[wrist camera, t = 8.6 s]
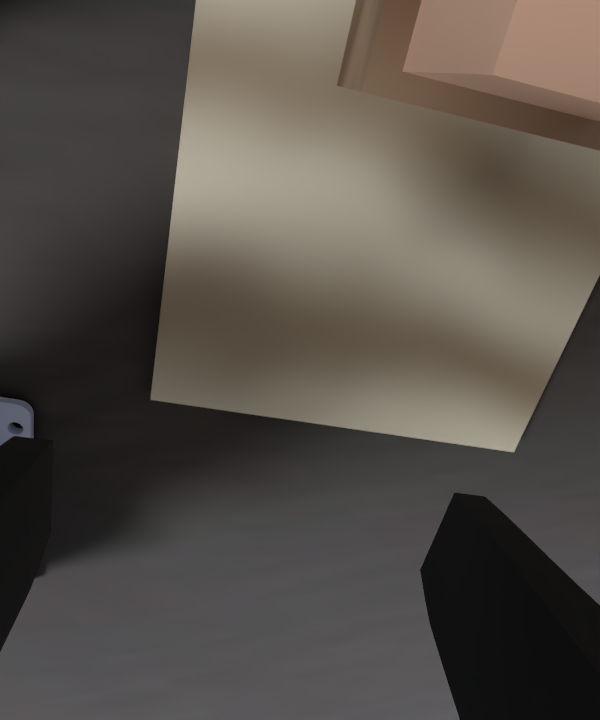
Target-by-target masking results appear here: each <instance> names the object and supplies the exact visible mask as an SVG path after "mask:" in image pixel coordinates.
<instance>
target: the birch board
mask: <svg viewBox="0 0 600 720" xmlns="http://www.w3.org/2000/svg"><path fill="white" fill-rule="evenodd" d="M355 3H356V0H196V6H195V14H194V23H193V32H192V41H191V49H190V58H189V67H188V75H187V84H186V93H185V102H184V110H183V119H182V128H181V136H180V145H179V154H178V163H177V171H176V180H175V189H174V197H173V206H172V215H171V224H170V232H169V241H168V250H167V258H166V267H165V276H164V285H163V293H162V302H161V311H160V319H159V328H158V337H157V346H156V354H155V363H154V372H153V380H152V389H151V398H150V400H155V401H162V402H169V403H176V404H183V405H190V406H197V407H204V408H211V409H218V410H224V411H231V412H238V413H245V414H252V415H259V416H266V417H273V418H280V419H287V420H294V421H301V422H308V423H314V424H321V425H328V426H335V427H342V428H349V429H356V430H363V431H370V432H377V433H384V434H391V435H398V436H405V437H411V438H418V439H425V440H432V441H439V442H446V443H453V444H460V445H467V446H474V447H481V448H488V449H495V450H502V451H508V452H514V451H515V449H516V447H517V445H518V443H519V441H520V438H521V436H522V434H523V432H524V430H525V428H526V426H527V424H528V422H529V420H530V418H531V416H532V414H533V412H534V410H535V408H536V405H537V403H538V401H539V399H540V397H541V395H542V393H543V391H544V389H545V387H546V385H547V383H548V381H549V379H550V377H551V374H552V372H553V370H554V368H555V366H556V364H557V362H558V360H559V358H560V356H561V354H562V352H563V350H564V348H565V346H566V344H567V341H568V339H569V337H570V335H571V333H572V331H573V329H574V327H575V325H576V323H577V321H578V319H579V317H580V315H581V313H582V310H583V308H584V306H585V304H586V302H587V300H588V298H589V296H590V294H591V292H592V290H593V288H594V286H595V284H596V282H597V280H598V277H599V275H600V151H599V150H595V149H591V148H586V147H582V146H578V145H574V144H570V143H566V142H562V141H558V140H554V139H550V138H546V137H542V136H538V135H534V134H529V133H525V132H521V131H517V130H513V129H509V128H505V127H501V126H497V125H493V124H489V123H485V122H481V121H477V120H473V119H469V118H465V117H461V116H457V115H453V114H449V113H445V112H441V111H437V110H433V109H429V108H425V107H421V106H417V105H412V104H408V103H404V102H400V101H396V100H392V99H388V98H384V97H380V96H376V95H372V94H368V93H364V92H360V91H356V90H352V89H348V88H344V87H340V86H337V83H338V78H339V74H340V69H341V65H342V60H343V56H344V51H345V47H346V43H347V38H348V34H349V29H350V25H351V20H352V16H353V11H354V7H355Z"/></svg>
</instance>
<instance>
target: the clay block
mask: <svg viewBox="0 0 600 720" xmlns="http://www.w3.org/2000/svg"><path fill="white" fill-rule="evenodd" d="M402 72H406V73H410V74H414V75H418V76H422V77H426V78H430V79H434V80H438V81H442V82H446V83H450V84H453V85H457V86H461V87H465V88H469V89H473V90H477V91H481V92H485V93H489V94H493V95H497V96H500V97H504V98H508V99H512V100H516V101H520V102H524V103H528V104H532V105H536V106H540V107H544V108H548V109H551V110H555V111H559V112H563V113H567V114H571V115H575V116H579V117H583V118H587V119H591V120H595V121H600V0H422V1H421V4H420V8H419V12H418V16H417V19H416V23H415V27H414V30H413V34H412V38H411V42H410V45H409V49H408V53H407V57H406V60H405V64H404V68H403V71H402Z"/></svg>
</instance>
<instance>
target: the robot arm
mask: <svg viewBox="0 0 600 720" xmlns="http://www.w3.org/2000/svg"><path fill="white" fill-rule="evenodd" d="M12 422H16V423H19V424H20V425H21V426H22V427H23V428H17V427H15V426H14V425H13V423H12ZM52 446H53V441H50V440H42V439H34V412H33V409H32V407H31V406H30V405H29V404H28V403H26V402H25V401H22V400H18V399H11V398H4V397H0V651H1V649H2V647H3V645H4V643H5V641H6V639H7V637H8V635H9V632H10V630H11V628H12V626H13V624H14V622H15V620H16V618H17V616H18V614H19V612H20V610H21V608H22V606H23V603H24V601H25V599H26V597H27V595H28V593H29V591H30V589H31V586H32V583H33V580H34V578H35V575H36V572H37V569H38V567H39V564H40V561H41V558H42V555H43V552H44V549H45V546H46V543H47V540H48V538H49V535H50V532H51V490H52ZM420 571H421V577H422V583H423V589H424V595H425V601H426V606H427V611H428V616H429V621H430V625H431V629H432V632H433V635H434V639H435V642H436V645H437V648H438V652H439V655H440V658H441V661H442V665H443V668H444V671H445V674H446V677H447V680H448V684H449V687H450V690H451V693H452V696H453V699H454V702H455V706H456V709H457V712H458V715H459V718H460V720H600V605H599V604H598V603H597V602H595V601H594V600H593V599H592V598H591V597H590V596H589V595H588V594H587V593H586V592H585V591H584V590H582V589H581V588H580V587H579V586H578V585H577V584H576V583H575V582H574V581H573V580H572V579H571V578H570V577H569V576H568V575H567V574H566V573H565V572H564V571H563V570H561V569H560V568H559V567H558V566H557V565H556V564H555V563H554V562H553V561H552V560H551V559H550V558H549V557H548V556H547V555H546V554H545V553H544V552H543V551H542V550H541V549H540V548H539V547H538V546H537V545H536V544H535V543H534V542H533V541H532V540H531V539H530V538H529V537H528V536H527V535H526V534H524V533H523V532H522V531H521V530H520V529H519V528H518V527H517V526H516V525H515V524H514V523H513V522H512V521H511V520H510V519H509V518H508V517H507V516H506V515H505V514H504V513H503V512H502V511H500V510H499V509H498V508H497V507H496V506H495V505H494V504H493V503H492V502H490V501H489V500H488V499H487V498H486V497H484V496H476V495H469V494H461V493H454V495H453V497H452V500H451V502H450V504H449V506H448V509H447V511H446V513H445V515H444V518H443V520H442V522H441V524H440V527H439V529H438V531H437V533H436V536H435V538H434V540H433V542H432V545H431V547H430V549H429V551H428V554H427V556H426V558H425V561H424V563H423V565H422V567H421V570H420Z"/></svg>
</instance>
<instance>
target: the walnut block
mask: <svg viewBox="0 0 600 720" xmlns="http://www.w3.org/2000/svg"><path fill="white" fill-rule="evenodd" d="M421 1H422V0H356V3H355V7H354V11H353V16H352V20H351V25H350V29H349V34H348V38H347V43H346V47H345V51H344V56H343V60H342V65H341V69H340V74H339V78H338V83H337V86H340V87H344V88H348V89H352V90H356V91H360V92H364V93H368V94H372V95H376V96H380V97H384V98H388V99H392V100H396V101H400V102H404V103H408V104H412V105H417V106H421V107H425V108H429V109H433V110H437V111H441V112H445V113H449V114H453V115H457V116H461V117H465V118H469V119H473V120H477V121H481V122H485V123H489V124H493V125H497V126H501V127H505V128H509V129H513V130H517V131H521V132H525V133H529V134H534V135H538V136H542V137H546V138H550V139H554V140H558V141H562V142H566V143H570V144H574V145H578V146H582V147H586V148H591V149H595V150H599V151H600V121H595V120H591V119H587V118H583V117H579V116H575V115H571V114H567V113H563V112H559V111H555V110H551V109H548V108H544V107H540V106H536V105H532V104H528V103H524V102H520V101H516V100H512V99H508V98H504V97H500V96H497V95H493V94H489V93H485V92H481V91H477V90H473V89H469V88H465V87H461V86H457V85H453V84H450V83H446V82H442V81H438V80H434V79H430V78H426V77H422V76H418V75H414V74H410V73H406V72H402V71H403V68H404V64H405V60H406V57H407V53H408V49H409V45H410V42H411V38H412V34H413V30H414V27H415V23H416V19H417V16H418V12H419V8H420V4H421Z"/></svg>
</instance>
